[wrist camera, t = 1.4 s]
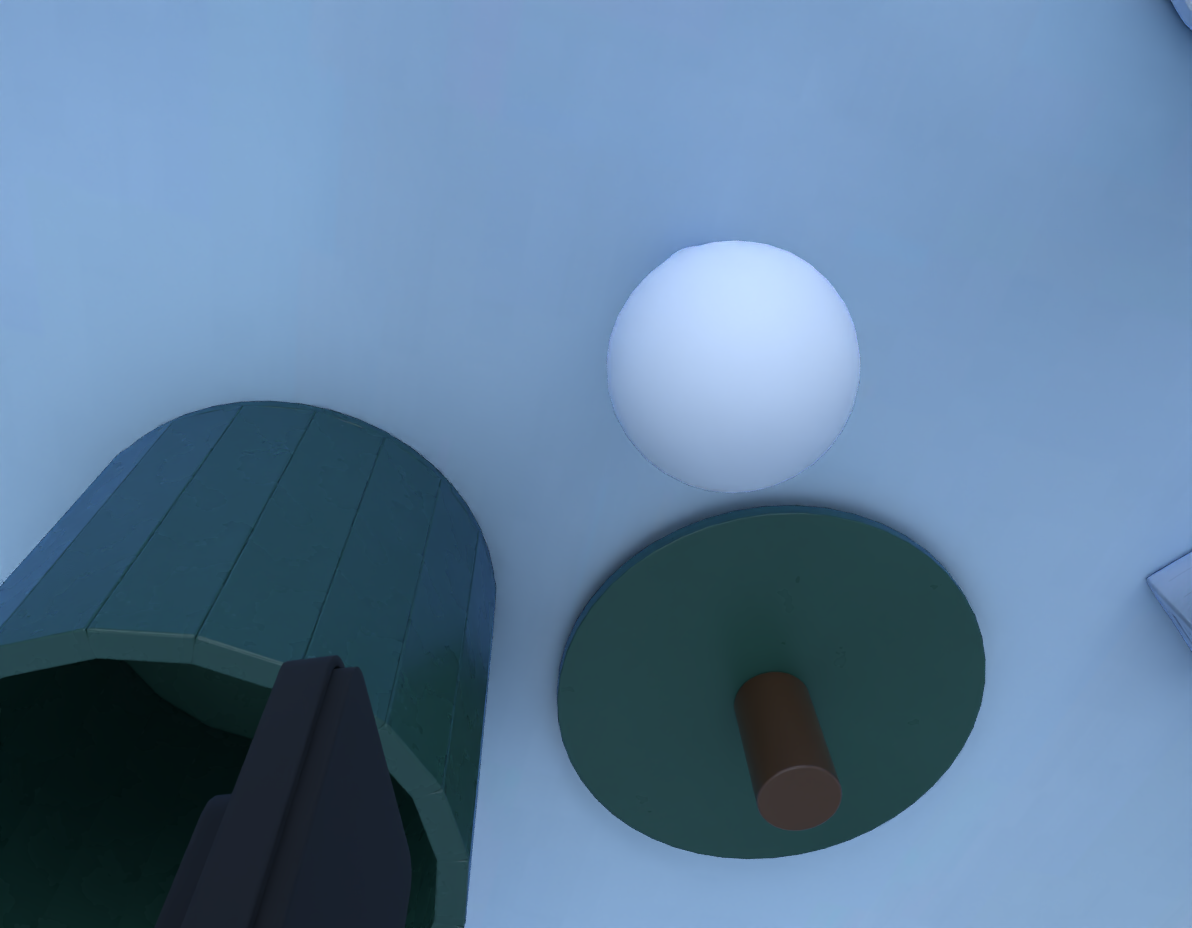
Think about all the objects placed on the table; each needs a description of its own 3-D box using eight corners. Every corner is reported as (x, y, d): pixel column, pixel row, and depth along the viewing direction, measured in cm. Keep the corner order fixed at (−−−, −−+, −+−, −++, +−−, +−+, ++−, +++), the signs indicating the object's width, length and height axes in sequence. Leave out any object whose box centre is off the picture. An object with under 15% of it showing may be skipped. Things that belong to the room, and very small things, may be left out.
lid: (961, 454, 36) (1036, 546, 30) (984, 797, 42) (1049, 923, 37) (511, 547, 37) (503, 652, 31) (605, 867, 43) (612, 1001, 38)
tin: (430, 358, 34) (362, 571, 22) (537, 710, 40) (529, 1023, 28) (2, 451, 34) (-284, 705, 23) (173, 782, 41) (18, 1113, 29)
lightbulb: (830, 254, 32) (951, 383, 23) (709, 404, 35) (771, 583, 25) (674, 137, 31) (731, 221, 21) (557, 302, 33) (557, 449, 23)
